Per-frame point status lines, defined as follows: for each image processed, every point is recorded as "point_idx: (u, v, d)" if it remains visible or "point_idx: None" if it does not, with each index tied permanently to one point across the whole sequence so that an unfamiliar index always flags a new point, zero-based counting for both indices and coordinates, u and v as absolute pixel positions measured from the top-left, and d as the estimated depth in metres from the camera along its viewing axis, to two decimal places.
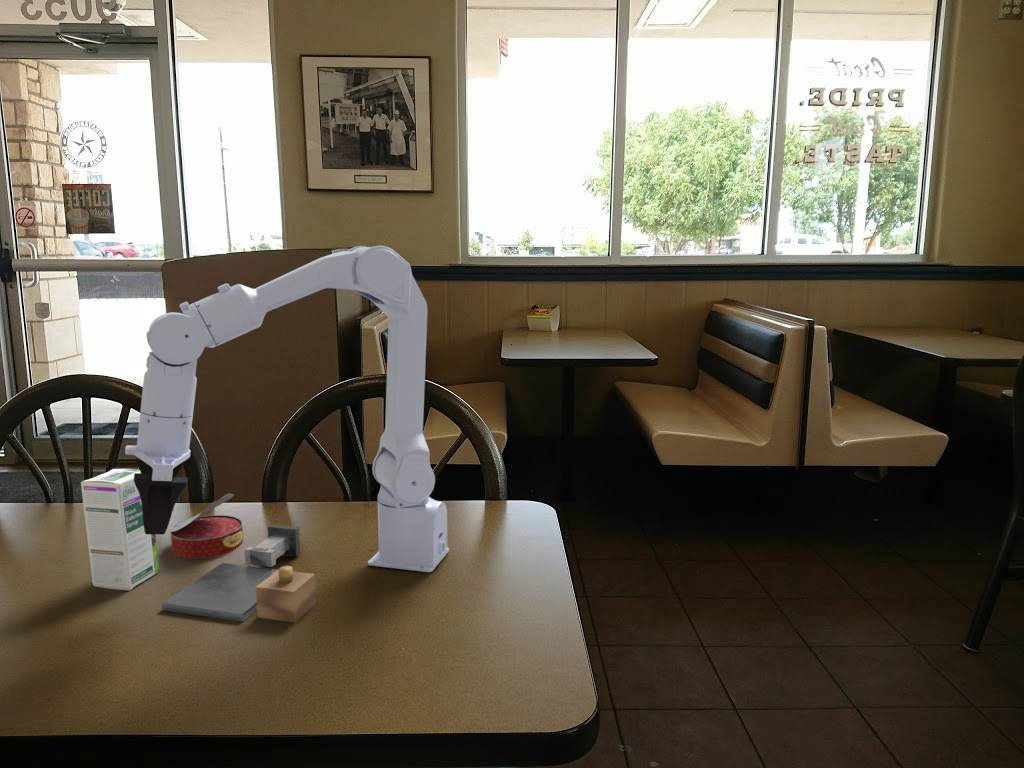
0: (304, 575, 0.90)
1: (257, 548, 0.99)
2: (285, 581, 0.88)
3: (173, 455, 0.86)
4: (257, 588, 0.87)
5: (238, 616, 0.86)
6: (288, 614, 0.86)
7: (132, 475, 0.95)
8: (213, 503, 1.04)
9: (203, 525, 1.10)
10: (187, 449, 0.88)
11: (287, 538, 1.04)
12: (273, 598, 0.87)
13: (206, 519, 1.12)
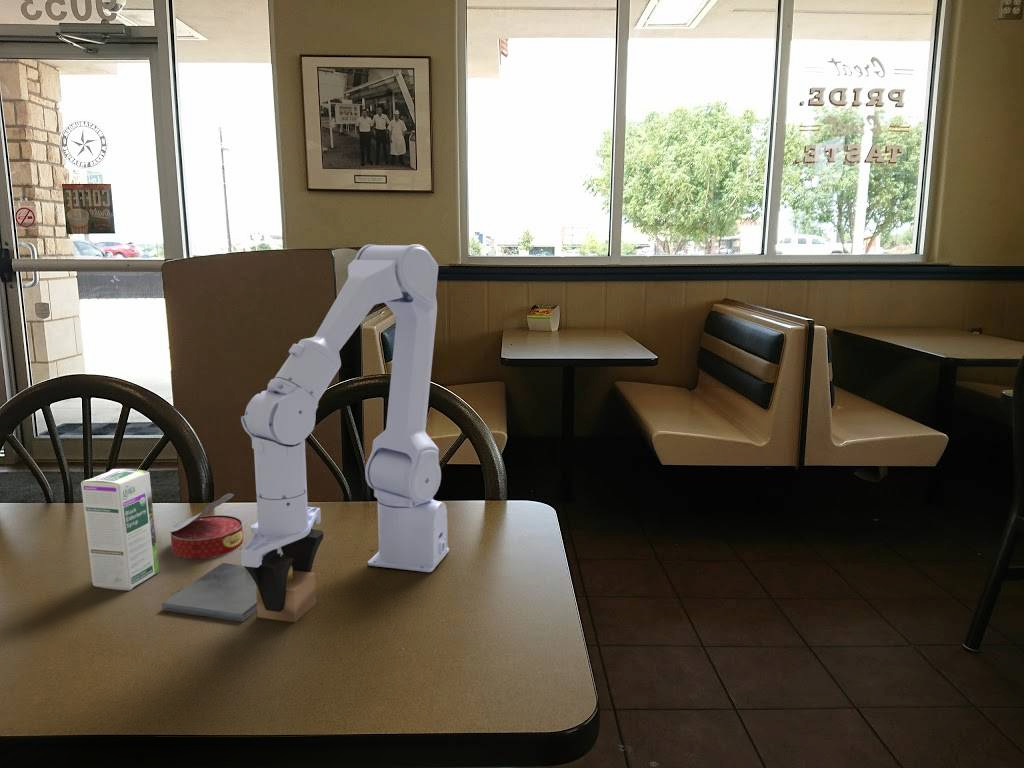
0: (304, 574, 0.90)
1: None
2: None
3: (279, 536, 0.85)
4: (257, 587, 0.87)
5: (238, 616, 0.86)
6: (288, 613, 0.86)
7: (132, 475, 0.95)
8: (213, 503, 1.04)
9: (203, 525, 1.10)
10: (298, 529, 0.86)
11: None
12: None
13: (206, 519, 1.12)
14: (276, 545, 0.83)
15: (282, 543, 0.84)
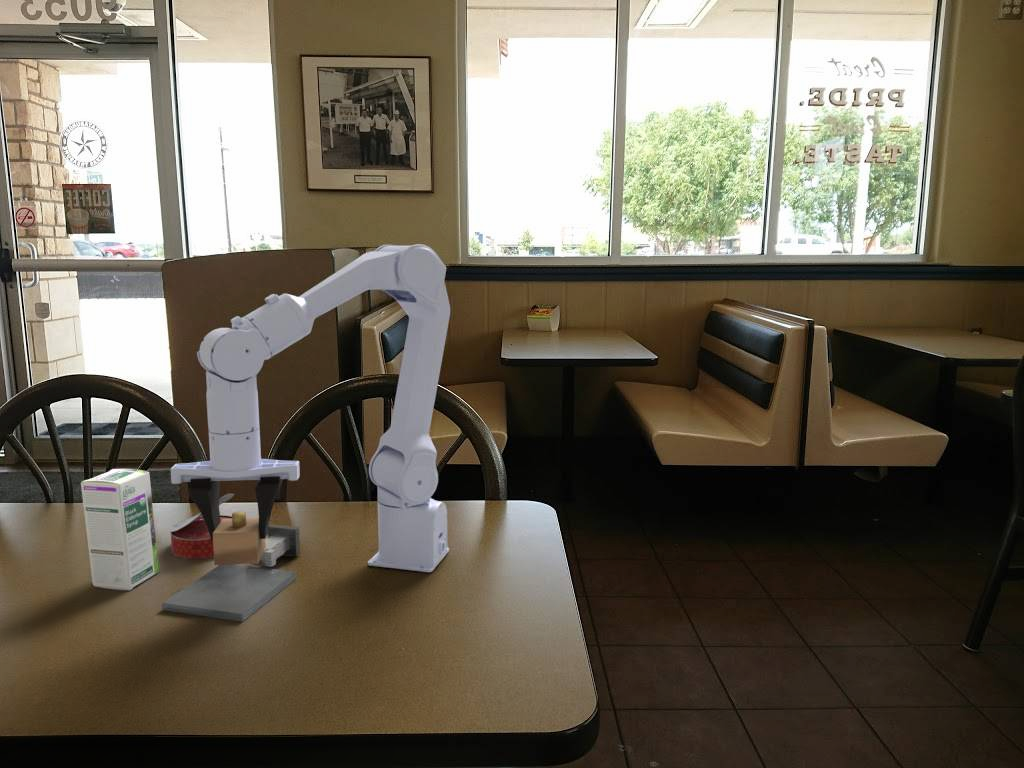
0: (252, 528, 0.88)
1: None
2: (232, 524, 0.89)
3: (210, 468, 0.87)
4: None
5: (238, 616, 0.86)
6: None
7: (132, 475, 0.95)
8: None
9: (203, 525, 1.10)
10: (221, 468, 0.86)
11: (287, 538, 1.04)
12: None
13: None
14: (194, 472, 0.86)
15: (201, 473, 0.86)
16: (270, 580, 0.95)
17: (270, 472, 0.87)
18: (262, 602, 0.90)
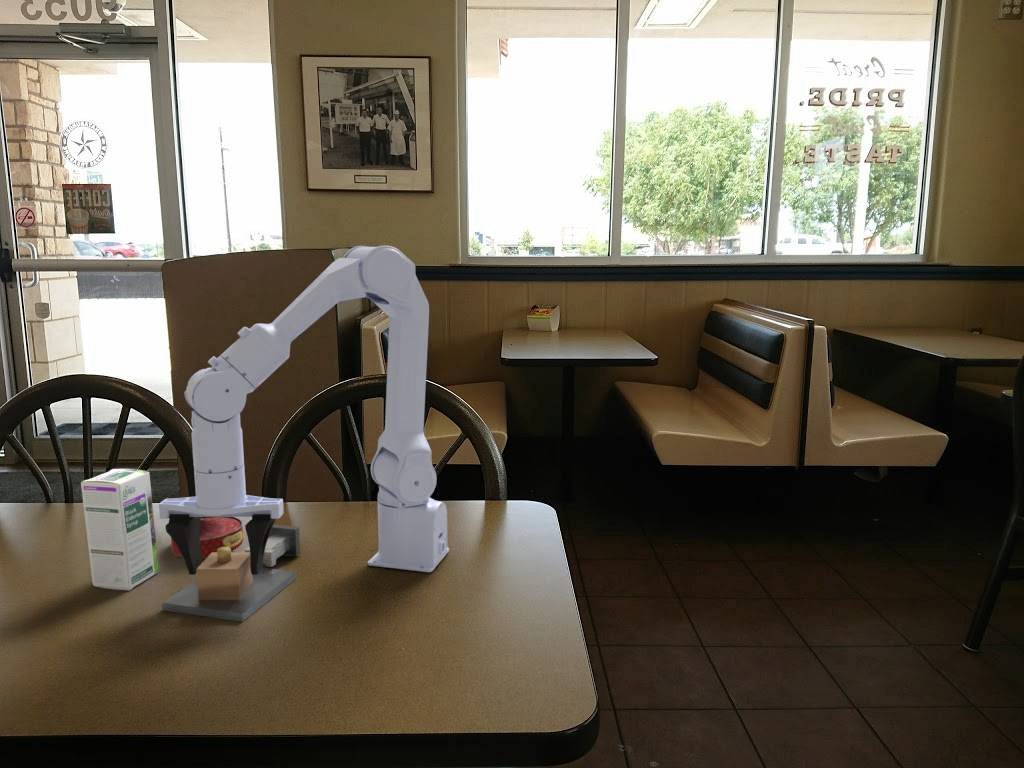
0: (234, 565, 0.90)
1: None
2: (217, 559, 0.91)
3: (196, 504, 0.89)
4: None
5: (238, 616, 0.86)
6: None
7: (132, 475, 0.95)
8: None
9: (203, 525, 1.10)
10: (204, 505, 0.88)
11: (287, 538, 1.04)
12: None
13: (207, 519, 1.12)
14: (180, 508, 0.89)
15: (186, 510, 0.88)
16: (270, 580, 0.95)
17: (252, 510, 0.89)
18: (262, 602, 0.90)
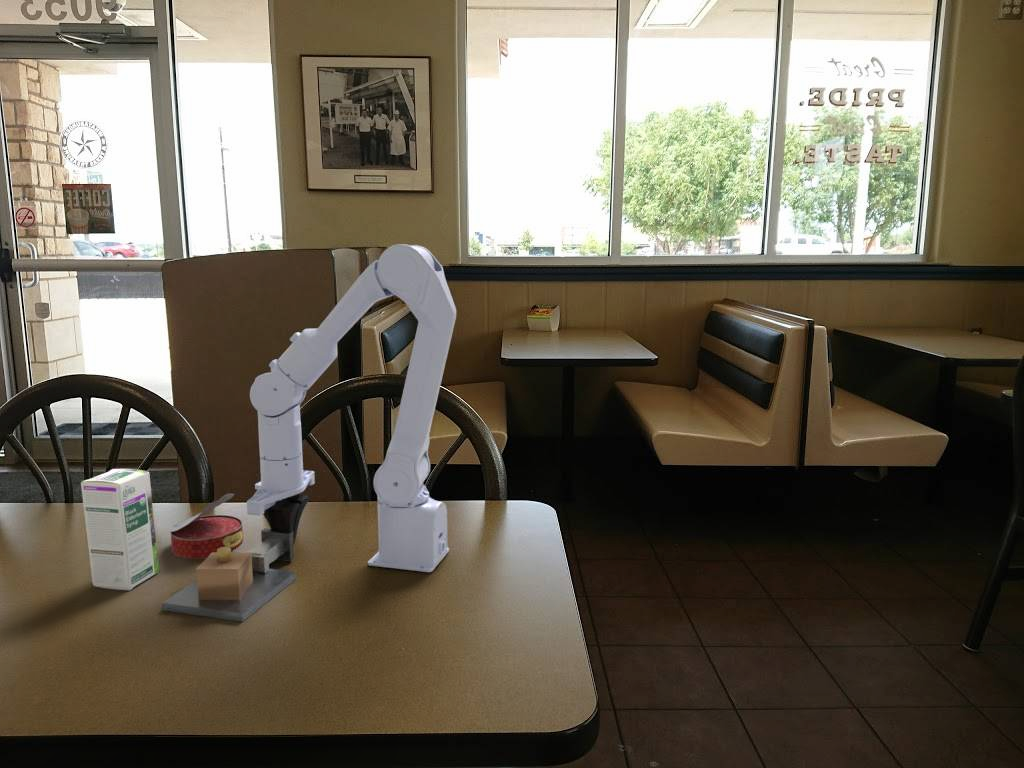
0: (234, 565, 0.90)
1: None
2: (217, 559, 0.91)
3: (279, 492, 1.01)
4: None
5: (238, 616, 0.86)
6: None
7: (132, 475, 0.95)
8: (213, 503, 1.04)
9: (203, 525, 1.10)
10: (295, 486, 1.02)
11: (281, 542, 1.02)
12: None
13: (207, 519, 1.12)
14: (276, 498, 0.99)
15: (281, 497, 1.00)
16: (270, 580, 0.95)
17: (308, 481, 1.08)
18: (262, 602, 0.90)
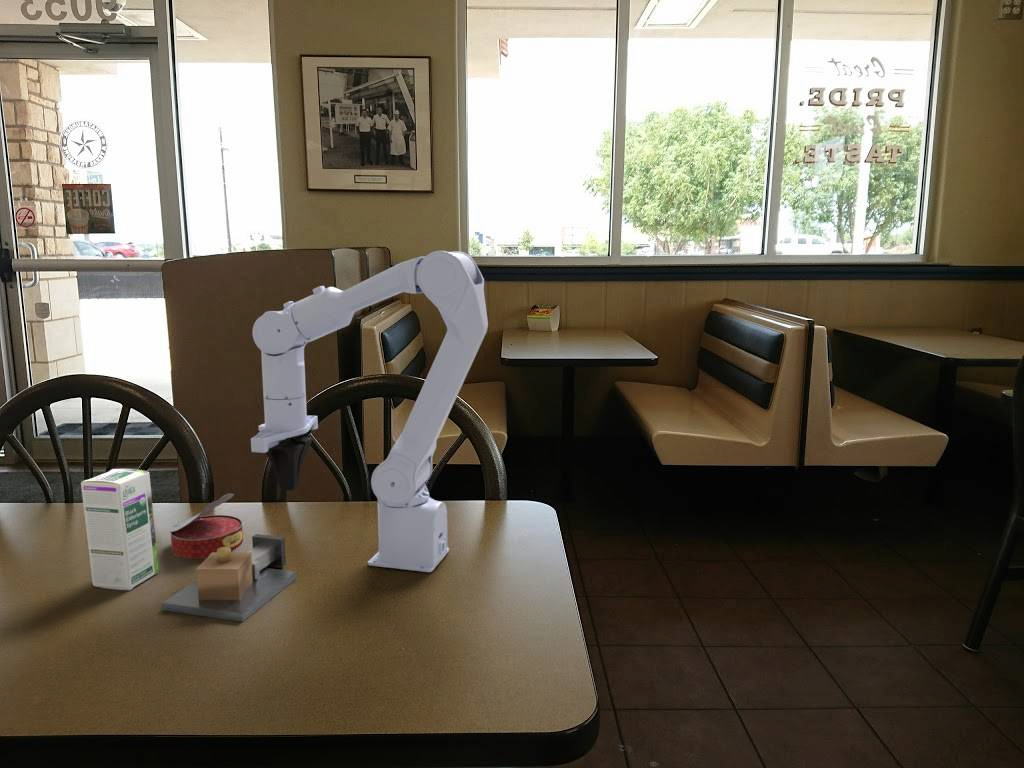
0: (234, 565, 0.90)
1: None
2: (217, 559, 0.91)
3: (283, 431, 1.01)
4: None
5: (238, 616, 0.86)
6: None
7: (132, 475, 0.95)
8: (213, 503, 1.04)
9: (203, 525, 1.10)
10: (299, 426, 1.02)
11: (272, 548, 1.00)
12: None
13: (207, 519, 1.12)
14: (280, 437, 1.00)
15: (285, 436, 1.00)
16: (270, 580, 0.95)
17: (312, 424, 1.08)
18: (262, 602, 0.90)
